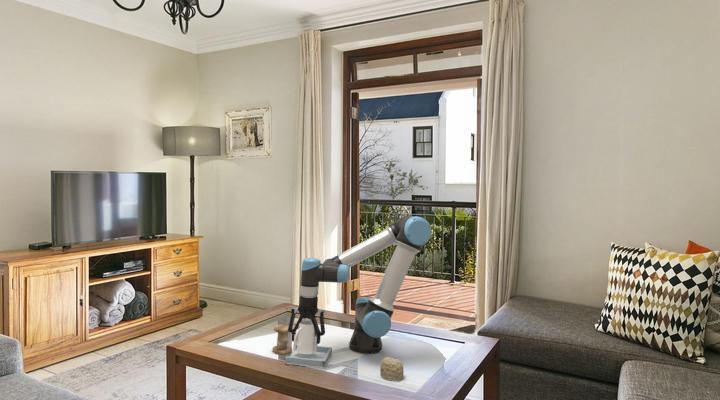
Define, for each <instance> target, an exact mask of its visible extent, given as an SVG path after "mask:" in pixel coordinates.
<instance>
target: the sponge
mask: <svg viewBox="0 0 720 400" xmlns="http://www.w3.org/2000/svg"><path fill="white" fill-rule="evenodd" d="M404 371H405V370H404V364H403V363H402V361H400V360H399V359H398V358H394V357H389V356H386V357H384V358H383V359H382V361H381V364H380V369H379V372H380V377H381V378H382V379H384V380H385V381H388V382H399V381H402V379H404Z"/></svg>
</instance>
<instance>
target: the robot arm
mask: <svg viewBox="0 0 720 400" xmlns="http://www.w3.org/2000/svg"><path fill="white" fill-rule="evenodd" d="M431 237H432V227H431V224H430V223H429V222H428V221H427V219H425V218H423V217H422V216H415V215H411V214H410V215H405V216H402V217H400V218H398V219H397V220H395V221H394V222H392V223H390V224H388V225H386V227H385V229H384V230H382V231H380V232H378V233H376V234H375V235H372V236H370V237H368V238H367V239H364V240H363V241H362V242H359V243H358V244H356V245H354V246H352V247H351V248H349V249H346V250H344V251H343V252H341V253H339V254H337V255H336V256H333V257H331V258H327V259H325V260H323V262H322V263H321V259H319V258H315V257H305V258H304V259H302V262H301V270H300V271H301V272H300V273H301V275H300V288H299V289H300V290H299V295H300V296H299V303H298V304H299V305H298V306H297V307H295V306H293V307H292V308H291V310H290V311H291V312H290V313H291V315H290V320H289V323H288V325H289V327H288V333H291V342H293V347H292V348H293V351H294V350H296V344H295V335H296V332H297V331H298V326H299V323H301V321H302V320H304V319H307V320H311V321H312V323H313V325H314V329H315V332H316V334H317V335H316V336H315V344H314V352H315V353H316V351H317V346H318V345H319V344H320V343H321V336H325V334H326V329H325V317H324V314H325V311H326V310H321V309H319V308H318V303H319V302H318V301H319V297H318V295H319V287H320V286H319V285H320V283H337V284H341V283H342V284H344V283H347V282H348V280H349V273H350V271H349V269H350V268H352V267H353V266H355V265H357V264H359V263H361V262H364V260H366V259H368V258H370V257H372V256H374V255H375V254H377V253H380V252H381V251H383V250H385V249H387V248H388V247H390V246H393V245H396V247H395V249H394V251H393V254H392V256H391V258H390V261H389V262H388V265H387V267H386V270H385V272H384V274H383V276H382V278H381V281H380V283H379V285H378V287H377V290H376V291H375V295H374V296H373V297H368V296H367V297H357V298H356V301H355V304H354V305H355V311H354V312H355V313H354V328H353V331H352V335H351V336H350V337H351V338H350V339H349V345H348V348H349V349H350V350H351V351H352V352H355V353H358V354H359V353H360V354H365V355H367V354H368V355H374V354H378V353H381V352H382V351H383V342H382V337H385V336H386V335H387V334H388V333H389V331H390V329H391V326H392V316H393V314H394V312H395V308H394V303H395V301H396V298H397V297H398V295H399V292H400V289H401V287H402V285H403V283H404V281H405V278H406V276H407V274H408V271H409V269H410V267H411V264H412V262H413V260H414V258H415V255H417V254H418V253H420V252H421V251H422V249H423V246H424V245H425V244H427V243H428V242H429V241H430V239H431ZM297 313H299V314H300V315H299V317H298V319H297V321H296V323H295V320H296V319H295V318H296V314H297ZM317 314H318V316H319V324H318V321H317V317H316V315H317ZM294 323H295V325H294ZM319 325H320V326H319ZM292 327H293V329H292ZM381 350H382V351H381ZM380 351H381V352H380Z"/></svg>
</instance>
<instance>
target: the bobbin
mask: <svg viewBox="0 0 720 400" xmlns="http://www.w3.org/2000/svg"><path fill="white" fill-rule="evenodd" d="M288 327H289V324H276V325H274V326H273V331H274V332H276V333H277V336H276V338H277V340H276V345H274V346H272V349H271V350H272V353H273V354H276V355H287V354H290V353H291V352H292V346H289V345H288V342H289V341H288V338H289V332H288ZM292 329H294V326H293V327H292Z"/></svg>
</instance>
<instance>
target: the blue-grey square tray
mask: <svg viewBox="0 0 720 400" xmlns="http://www.w3.org/2000/svg"><path fill="white" fill-rule="evenodd" d="M289 355H290V356H287V355H286V356H284V359H285V360H284V364H285V363H287V364H295V365H300V366H299V367H301V366H306V367H305V368H313V369H320V370H325V368H326V366H327V364H328V363H329V361H330V359H331V358H332V355H333V347H329V346H322V345H321V346H320V345H317V351H316V353H313V354H300V353H298V352H296V350H293V352H292V353H291V354H289Z"/></svg>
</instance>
